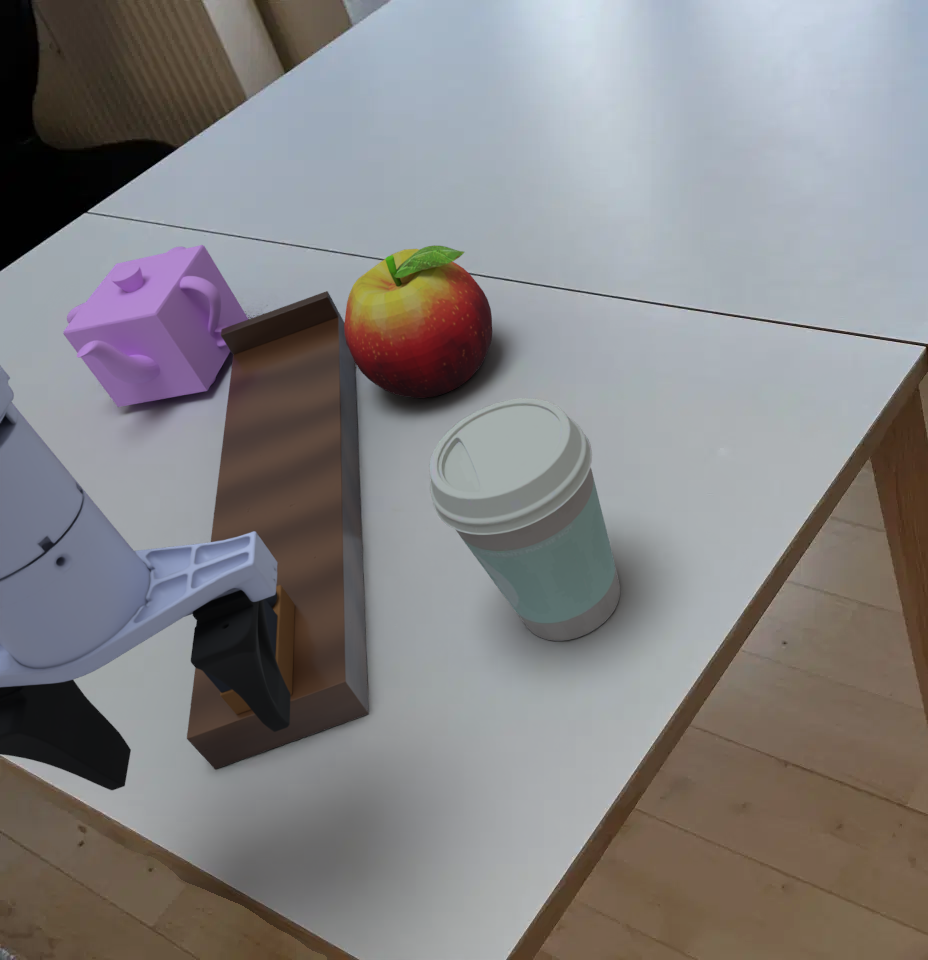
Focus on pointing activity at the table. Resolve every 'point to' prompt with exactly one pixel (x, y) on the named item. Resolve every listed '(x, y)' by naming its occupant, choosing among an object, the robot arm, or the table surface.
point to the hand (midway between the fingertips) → (201, 741)
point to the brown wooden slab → (294, 517)
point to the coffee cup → (529, 513)
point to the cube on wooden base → (282, 643)
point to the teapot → (156, 326)
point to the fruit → (418, 323)
